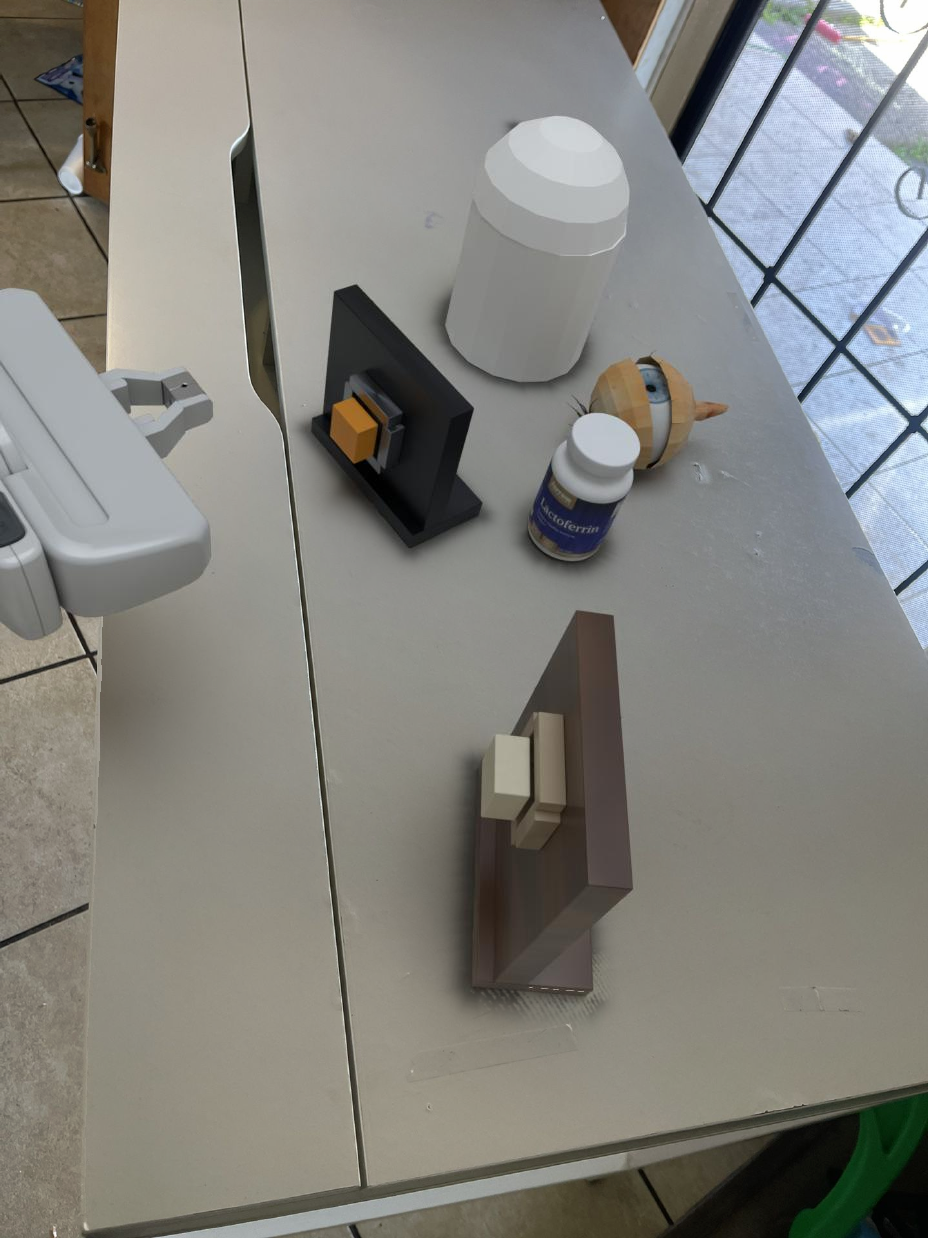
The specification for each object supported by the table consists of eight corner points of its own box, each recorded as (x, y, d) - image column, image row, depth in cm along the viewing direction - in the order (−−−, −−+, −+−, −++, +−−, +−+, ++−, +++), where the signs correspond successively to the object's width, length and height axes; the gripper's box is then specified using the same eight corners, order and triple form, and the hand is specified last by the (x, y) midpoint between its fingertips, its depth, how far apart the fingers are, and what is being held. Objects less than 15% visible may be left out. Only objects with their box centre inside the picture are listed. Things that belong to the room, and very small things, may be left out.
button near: (480, 817, 47) (494, 792, 44) (481, 760, 48) (495, 733, 46) (514, 821, 47) (530, 797, 44) (515, 763, 49) (530, 737, 46)
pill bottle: (515, 545, 73) (553, 448, 64) (538, 492, 77) (576, 394, 68) (590, 576, 73) (637, 482, 64) (609, 521, 77) (657, 426, 68)
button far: (353, 464, 68) (357, 433, 65) (329, 435, 69) (332, 404, 66) (373, 455, 68) (378, 424, 66) (349, 427, 69) (353, 396, 67)
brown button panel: (466, 986, 54) (557, 882, 38) (472, 767, 62) (550, 605, 46) (585, 996, 55) (723, 898, 39) (577, 779, 63) (689, 625, 47)
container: (481, 393, 82) (539, 185, 66) (421, 297, 88) (460, 84, 72) (605, 369, 88) (687, 171, 71) (540, 280, 93) (602, 77, 77)
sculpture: (554, 348, 75) (730, 315, 76) (546, 414, 84) (705, 384, 85) (583, 444, 72) (767, 408, 73) (571, 502, 80) (737, 470, 81)
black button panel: (406, 550, 71) (436, 424, 60) (307, 431, 76) (317, 295, 65) (479, 514, 74) (519, 389, 63) (379, 403, 79) (401, 269, 68)
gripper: (-122, 392, 51) (115, 322, 57) (48, 667, 44) (295, 552, 50) (-164, 298, 46) (103, 232, 52) (22, 593, 39) (302, 475, 45)
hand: (199, 392), depth 51 cm, fingers closed
